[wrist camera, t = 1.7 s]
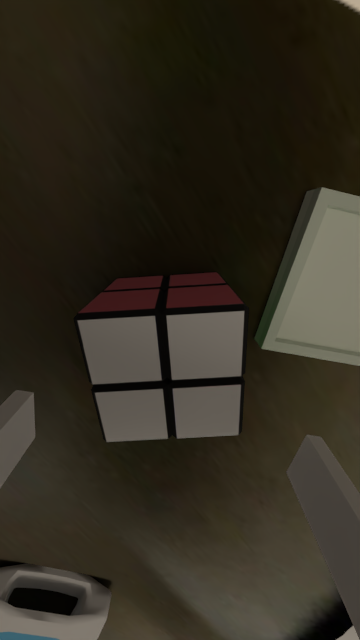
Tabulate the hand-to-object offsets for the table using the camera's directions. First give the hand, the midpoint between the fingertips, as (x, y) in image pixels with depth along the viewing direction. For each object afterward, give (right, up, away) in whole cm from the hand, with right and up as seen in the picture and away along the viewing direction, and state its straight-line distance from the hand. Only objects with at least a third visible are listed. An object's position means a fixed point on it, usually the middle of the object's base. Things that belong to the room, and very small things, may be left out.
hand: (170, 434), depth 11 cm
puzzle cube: (0, +5, +13) cm, 14 cm away
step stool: (-27, -50, +35) cm, 67 cm away
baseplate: (+17, +9, +11) cm, 22 cm away
